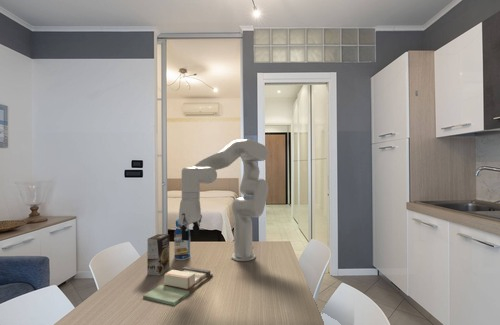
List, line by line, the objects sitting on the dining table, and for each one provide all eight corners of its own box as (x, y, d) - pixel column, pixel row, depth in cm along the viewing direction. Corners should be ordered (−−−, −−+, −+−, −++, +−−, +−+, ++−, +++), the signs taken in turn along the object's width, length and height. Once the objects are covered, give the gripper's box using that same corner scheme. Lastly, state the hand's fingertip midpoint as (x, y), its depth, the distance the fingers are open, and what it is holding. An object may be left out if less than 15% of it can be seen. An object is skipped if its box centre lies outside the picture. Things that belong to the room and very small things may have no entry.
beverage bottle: (193, 256, 141) (193, 219, 141) (182, 261, 134) (181, 222, 134) (182, 254, 145) (182, 217, 146) (170, 258, 138) (170, 220, 138)
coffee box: (159, 276, 116) (159, 239, 117) (146, 275, 118) (146, 238, 118) (170, 268, 125) (170, 234, 125) (157, 267, 126) (157, 233, 127)
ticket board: (185, 271, 121) (185, 265, 121) (212, 276, 115) (212, 269, 115) (143, 298, 96) (143, 290, 97) (174, 305, 91) (174, 297, 91)
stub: (172, 279, 110) (172, 269, 110) (194, 283, 105) (194, 273, 105) (164, 284, 105) (164, 274, 105) (187, 288, 101) (187, 278, 101)
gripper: (194, 193, 123) (195, 232, 122) (170, 198, 106) (170, 242, 106) (208, 194, 120) (209, 233, 119) (185, 198, 104) (185, 244, 103)
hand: (190, 237), depth 113 cm, fingers open, 7 cm apart
